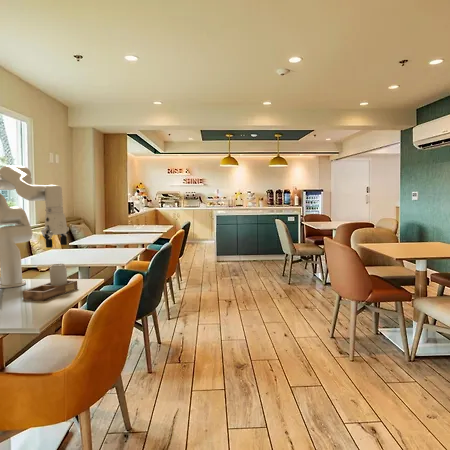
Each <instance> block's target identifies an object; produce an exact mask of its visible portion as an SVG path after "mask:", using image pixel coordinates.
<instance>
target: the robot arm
mask: <svg viewBox="0 0 450 450" xmlns="http://www.w3.org/2000/svg"><path fill="white" fill-rule="evenodd" d="M32 183H33V179H32V172H31V170H30V169H29V168H28V167H27V166H23V165H12V164H11V165H10V164H9V165H7V164H6V165H4V166H2V167H1V168H0V190H2V191H4V190H5V191H8V190H9V191H12V190H13V191H14V190H15V191H16V194H18V196H19V197H21V198H22V199H24V200H27V201H31V202H39V201H40V202H41V201H44V202H45V217H44V218H45V219H44V228H43V229H41V231H40V232H41V234H42V237H43V238H44V240H45V247H46V249H49V248H50V249H51V248H53V239H52V237H53V236H55V235H60V237H59V238H60V245H61V246H66V245H68V241H67V239H68V238H67V237H68V234H69V230H70V227H69V226H67V219H66V214H65V213H64V203H63V188H62V186H61V185H60V184H59V185H58V184H48V185H47V184H46V185H44V184H32ZM1 226H2V227H1ZM32 239H33V229H32V227H31V224H30V221H29V217H28V216H27V213H26V211H25V210H24V209H23V208H22V207H21V206H9V204H8V202H7V200H6V197H5V196H4V195H3V194H2V193H1V192H0V288H1V289H9V288H10V289H11V288H17V287H22V286H24V285H26V284H27V282H26V280H23V271H22V268H23V267H22V257H21V256H22V254H21V249H20V248H19V247H18V246H17V244H21V243H26V242H27V243H28V242H30V241H31V240H32Z"/></svg>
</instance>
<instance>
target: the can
mask: <svg viewBox="0 0 450 450" xmlns="http://www.w3.org/2000/svg"><path fill="white" fill-rule="evenodd" d="M67 271H68V269H67V266H66V264H65V263H54V264H51V265H50V268H49V278H50V279H49V281H50V282H49V283H51V285H54V286H61V285H64V284H67V280H68V274H67V273H68V272H67Z"/></svg>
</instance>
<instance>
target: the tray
mask: <svg viewBox="0 0 450 450" xmlns="http://www.w3.org/2000/svg"><path fill="white" fill-rule="evenodd" d="M77 288H78V280H70V279H69V280H68V279H67V284H64V285H61V286H54V285H51V283H50V282H47V283H44V284H41V285H38V286H34V287H31V288H28V289H24V290H22V299H23V301H24V300H25V301H36V302H46V301H48V300H51V299H53V298H56V297H60V296H62V295H64V294H67V293H71V292H72V290H73V291H75V290H77ZM74 289H75V290H74Z"/></svg>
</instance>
